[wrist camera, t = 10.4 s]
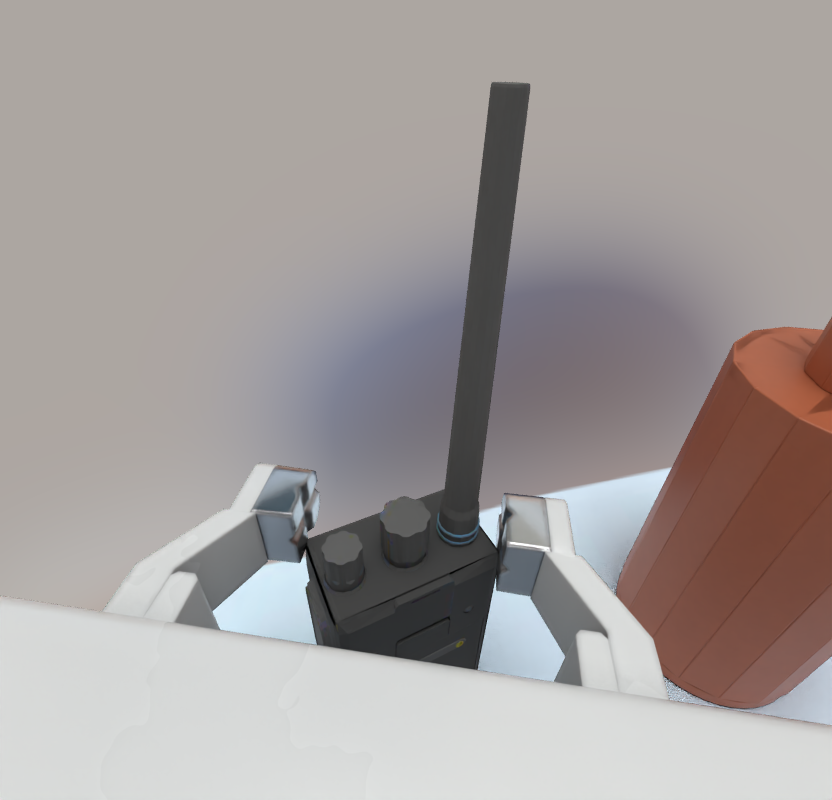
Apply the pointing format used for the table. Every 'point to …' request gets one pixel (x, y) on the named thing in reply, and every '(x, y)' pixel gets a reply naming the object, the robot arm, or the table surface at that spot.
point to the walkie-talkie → (458, 503)
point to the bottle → (745, 529)
